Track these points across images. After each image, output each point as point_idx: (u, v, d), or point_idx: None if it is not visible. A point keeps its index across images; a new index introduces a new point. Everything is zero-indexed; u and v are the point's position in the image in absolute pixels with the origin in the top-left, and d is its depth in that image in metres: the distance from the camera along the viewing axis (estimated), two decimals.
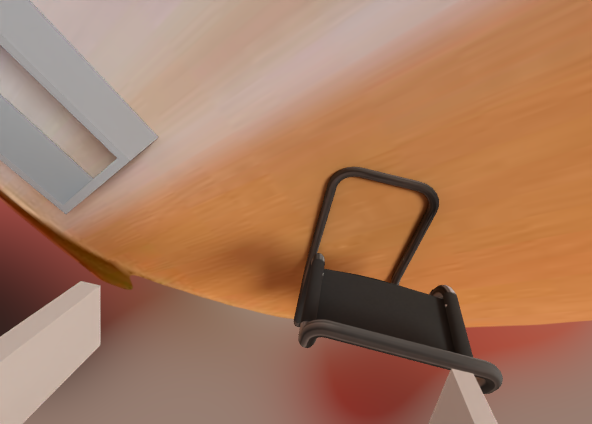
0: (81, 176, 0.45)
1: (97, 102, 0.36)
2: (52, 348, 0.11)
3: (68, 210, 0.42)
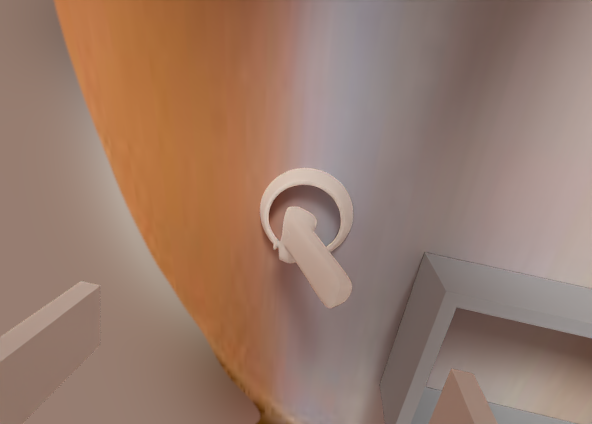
0: None
1: None
2: (52, 348, 0.11)
3: None
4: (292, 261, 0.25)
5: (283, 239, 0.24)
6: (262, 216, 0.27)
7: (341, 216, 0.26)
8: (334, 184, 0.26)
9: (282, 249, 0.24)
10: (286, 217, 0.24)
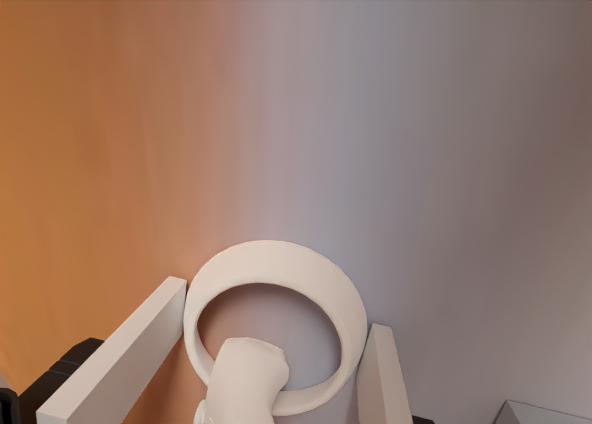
0: None
1: None
2: (157, 335, 0.12)
3: None
4: None
5: None
6: (184, 335, 0.14)
7: (343, 347, 0.12)
8: (328, 280, 0.12)
9: None
10: (213, 381, 0.10)
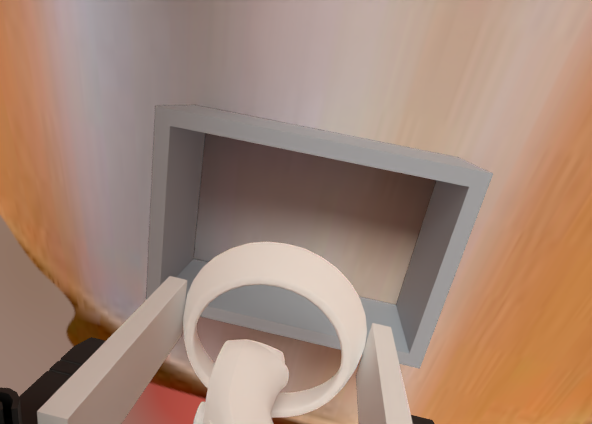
0: (382, 308, 0.28)
1: (379, 146, 0.22)
2: (158, 335, 0.12)
3: (421, 357, 0.24)
4: None
5: None
6: (184, 337, 0.14)
7: (342, 349, 0.12)
8: (327, 282, 0.12)
9: None
10: (212, 384, 0.10)
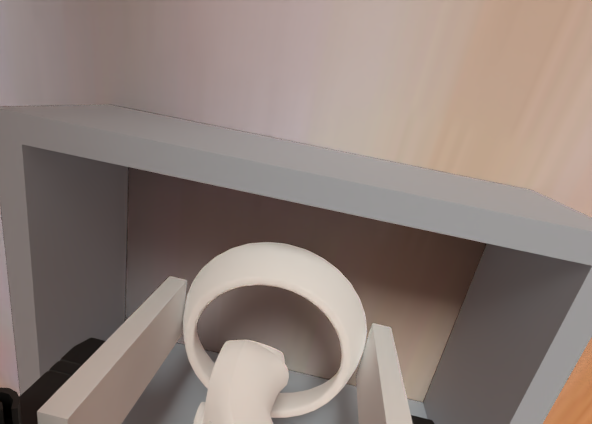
0: None
1: (408, 177, 0.13)
2: (158, 335, 0.12)
3: None
4: None
5: None
6: (184, 337, 0.14)
7: (342, 349, 0.12)
8: (327, 282, 0.12)
9: None
10: (212, 384, 0.10)
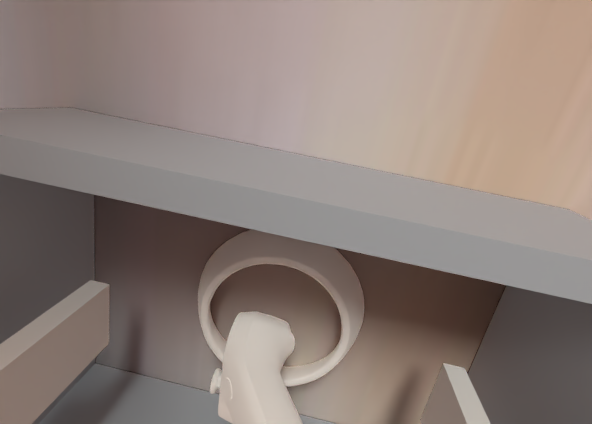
0: None
1: (424, 198, 0.10)
2: (64, 346, 0.11)
3: None
4: None
5: (223, 391, 0.11)
6: (199, 314, 0.15)
7: (342, 322, 0.14)
8: (329, 261, 0.14)
9: (223, 407, 0.12)
10: (229, 346, 0.11)
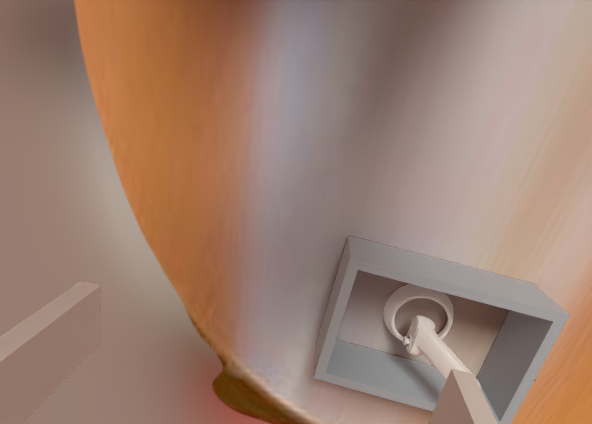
0: None
1: (487, 282, 0.33)
2: (52, 348, 0.11)
3: None
4: None
5: (417, 342, 0.34)
6: (389, 316, 0.38)
7: (448, 320, 0.37)
8: (444, 297, 0.37)
9: (414, 348, 0.35)
10: (419, 326, 0.34)
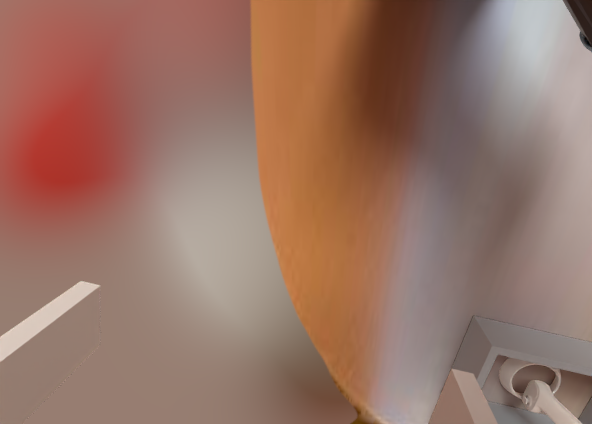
0: None
1: None
2: (52, 348, 0.11)
3: None
4: None
5: (538, 403, 0.43)
6: (506, 377, 0.47)
7: (558, 381, 0.46)
8: None
9: (536, 407, 0.43)
10: (540, 391, 0.43)
